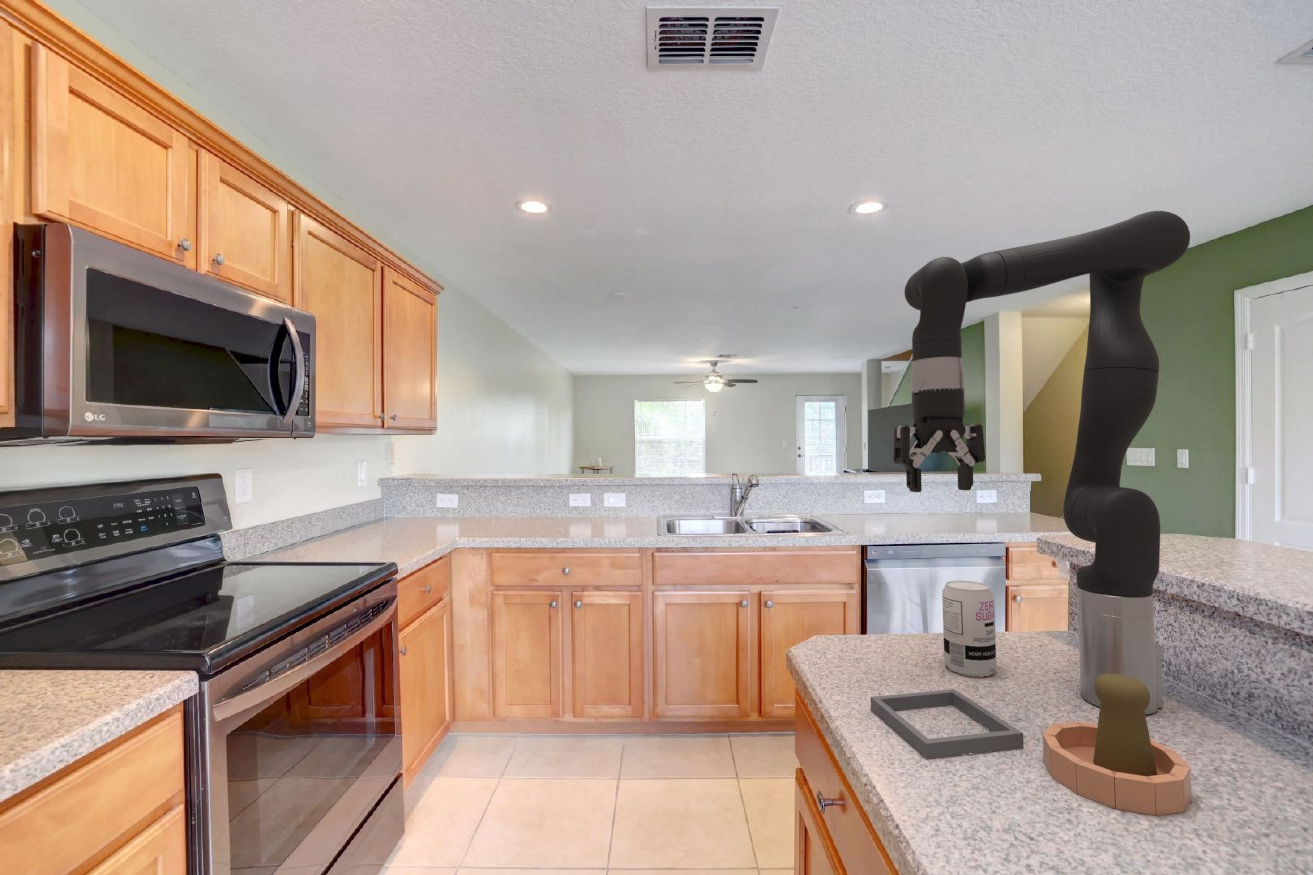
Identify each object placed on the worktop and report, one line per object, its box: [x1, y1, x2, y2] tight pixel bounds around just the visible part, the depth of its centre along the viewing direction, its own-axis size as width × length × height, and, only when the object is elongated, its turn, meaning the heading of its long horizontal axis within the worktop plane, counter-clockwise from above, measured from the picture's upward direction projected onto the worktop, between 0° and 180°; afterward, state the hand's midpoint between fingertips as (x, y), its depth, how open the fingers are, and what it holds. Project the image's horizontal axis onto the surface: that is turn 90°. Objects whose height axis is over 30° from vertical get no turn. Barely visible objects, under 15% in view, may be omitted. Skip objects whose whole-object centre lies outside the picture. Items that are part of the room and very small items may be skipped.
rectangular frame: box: [870, 688, 1025, 760], centre depth 82 cm, size 14×14×2 cm
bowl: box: [1042, 721, 1192, 817], centre depth 69 cm, size 13×13×4 cm
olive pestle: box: [1093, 674, 1157, 776], centre depth 69 cm, size 6×6×11 cm
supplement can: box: [941, 580, 998, 678], centre depth 102 cm, size 8×8×15 cm
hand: (940, 490), depth 91 cm, fingers open, 8 cm apart
